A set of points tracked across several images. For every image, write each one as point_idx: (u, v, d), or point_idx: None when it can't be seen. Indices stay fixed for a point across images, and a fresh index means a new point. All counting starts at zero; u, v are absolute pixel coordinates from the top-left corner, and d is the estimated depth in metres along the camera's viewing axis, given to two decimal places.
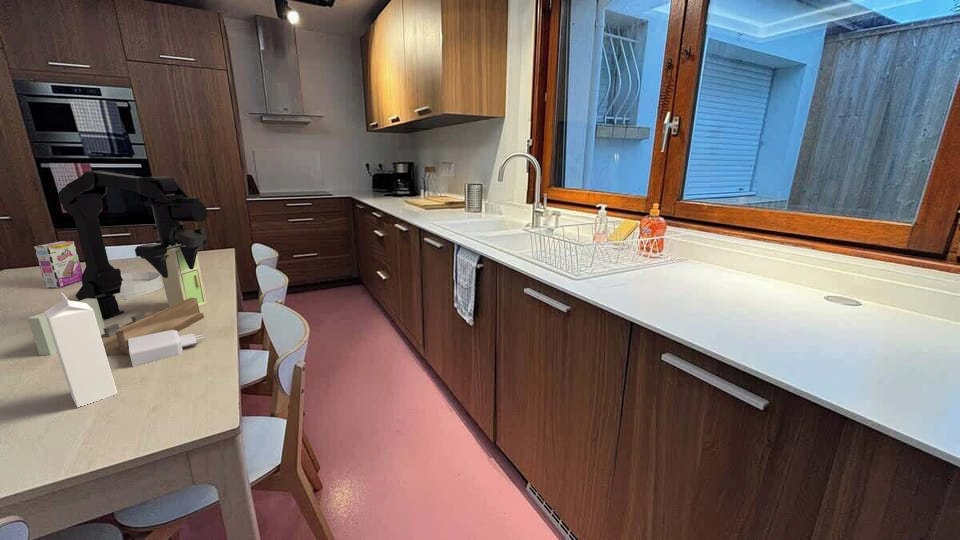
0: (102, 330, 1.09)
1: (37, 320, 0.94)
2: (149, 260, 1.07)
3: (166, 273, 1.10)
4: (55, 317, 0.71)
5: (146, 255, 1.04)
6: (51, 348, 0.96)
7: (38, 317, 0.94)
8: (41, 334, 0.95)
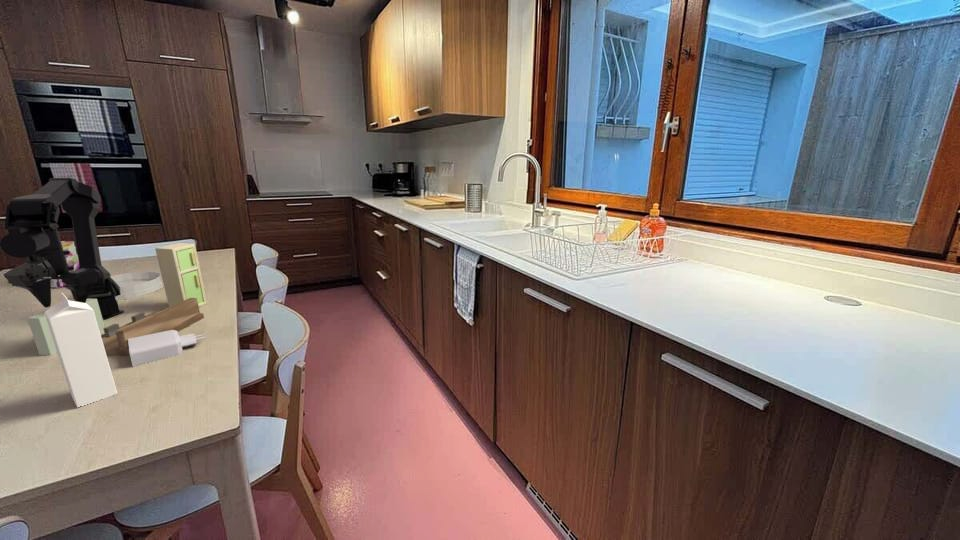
0: (102, 330, 1.09)
1: (37, 320, 0.94)
2: None
3: (41, 303, 0.99)
4: (55, 317, 0.71)
5: None
6: (51, 348, 0.96)
7: (38, 317, 0.94)
8: (41, 334, 0.95)
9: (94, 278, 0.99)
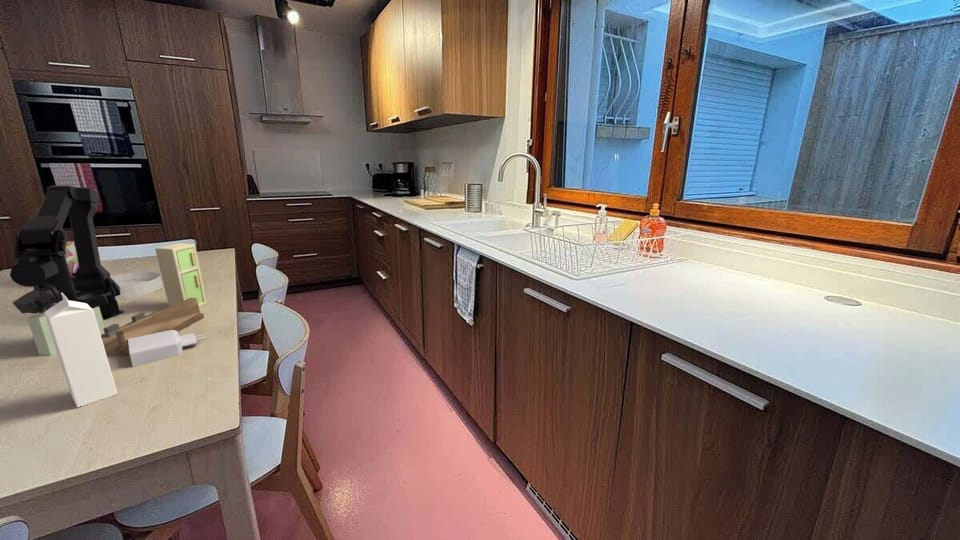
0: (102, 330, 1.08)
1: (37, 320, 0.94)
2: None
3: None
4: (55, 317, 0.71)
5: None
6: (51, 348, 0.96)
7: (38, 317, 0.94)
8: (41, 334, 0.95)
9: (101, 303, 1.01)
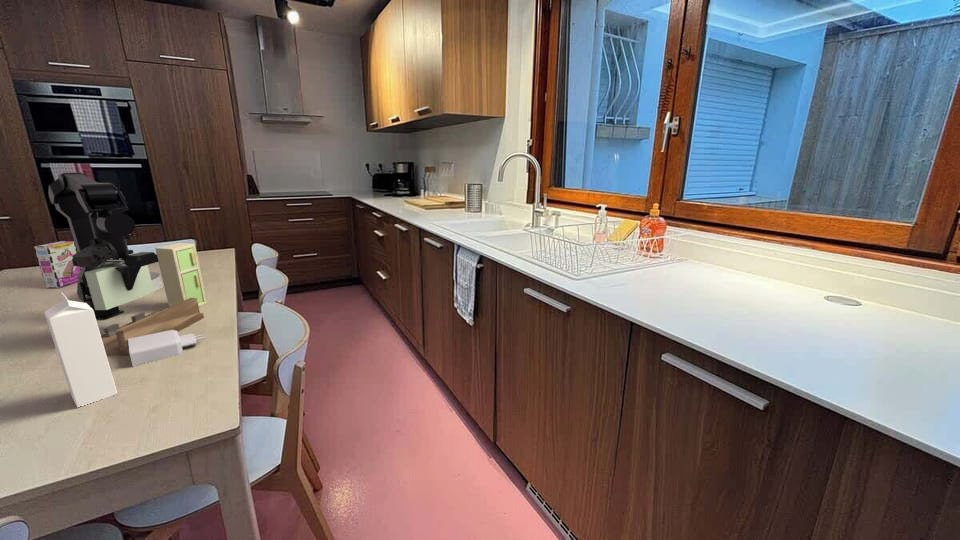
0: (151, 290, 1.11)
1: (94, 274, 0.96)
2: None
3: None
4: (55, 317, 0.71)
5: None
6: (107, 303, 0.98)
7: (95, 271, 0.96)
8: (97, 289, 0.97)
9: (153, 261, 1.03)
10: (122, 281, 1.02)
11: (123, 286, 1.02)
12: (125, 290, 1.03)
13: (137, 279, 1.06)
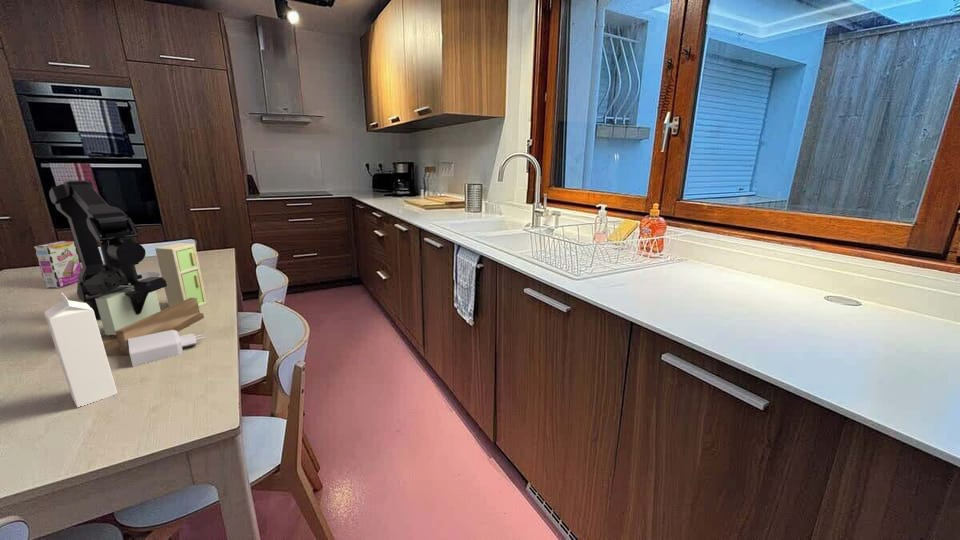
0: None
1: (105, 301, 0.98)
2: None
3: None
4: (55, 317, 0.71)
5: None
6: (117, 328, 1.01)
7: (105, 298, 0.98)
8: (108, 314, 0.99)
9: (162, 286, 1.05)
10: (131, 306, 1.04)
11: (132, 310, 1.05)
12: (134, 314, 1.05)
13: (145, 303, 1.09)
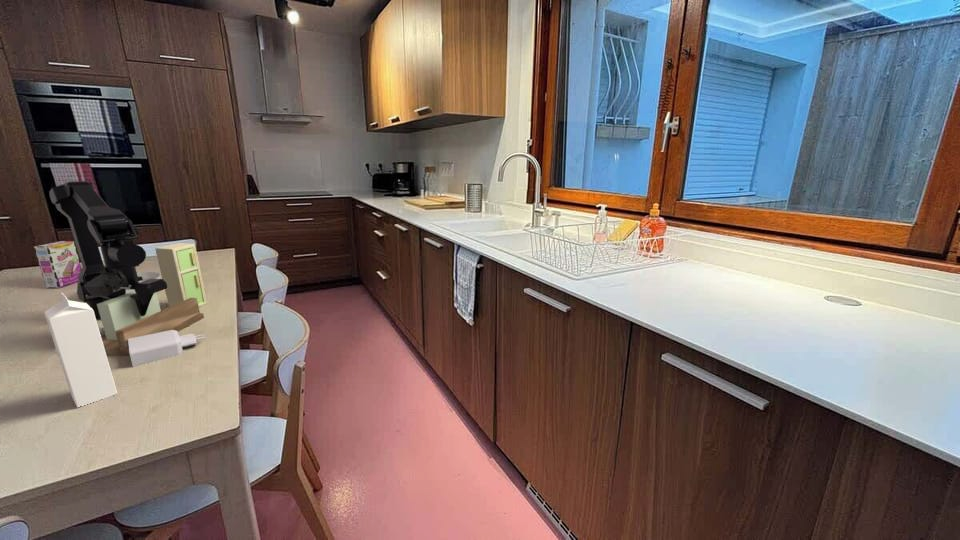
0: None
1: (106, 306, 0.98)
2: None
3: None
4: (55, 317, 0.71)
5: None
6: None
7: (107, 303, 0.99)
8: (109, 320, 0.99)
9: (162, 288, 1.05)
10: (133, 311, 1.05)
11: (133, 315, 1.05)
12: (135, 319, 1.06)
13: None
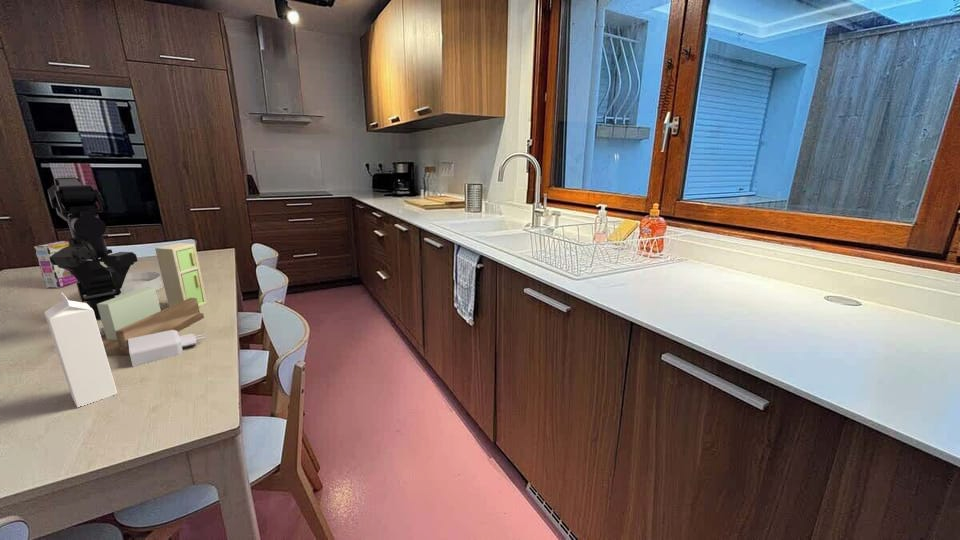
0: None
1: (106, 306, 0.98)
2: None
3: (81, 283, 1.06)
4: (55, 317, 0.71)
5: None
6: None
7: (107, 303, 0.99)
8: (109, 320, 0.99)
9: (132, 261, 1.06)
10: (133, 311, 1.05)
11: (133, 315, 1.05)
12: (135, 319, 1.06)
13: (147, 307, 1.09)
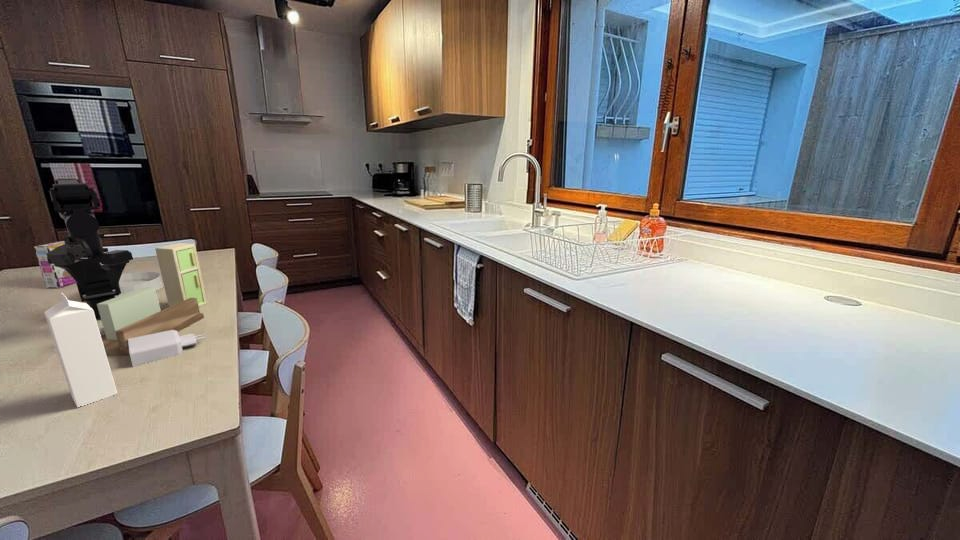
0: None
1: (106, 306, 0.98)
2: None
3: (78, 282, 1.06)
4: (55, 317, 0.71)
5: None
6: None
7: (107, 303, 0.99)
8: (109, 320, 0.99)
9: (127, 259, 1.05)
10: (133, 311, 1.05)
11: (133, 315, 1.05)
12: (135, 319, 1.06)
13: (147, 307, 1.09)
